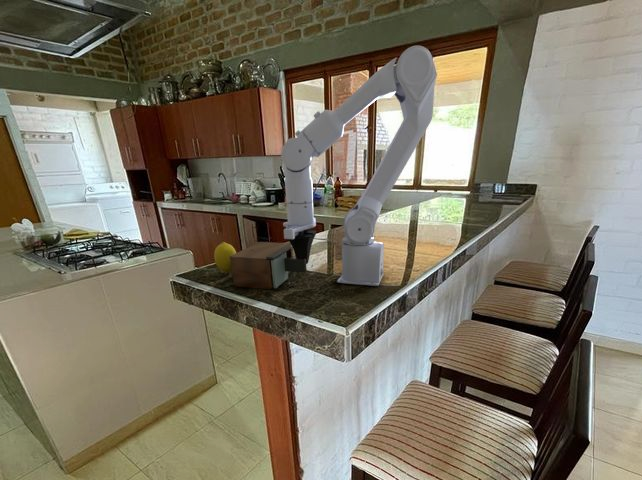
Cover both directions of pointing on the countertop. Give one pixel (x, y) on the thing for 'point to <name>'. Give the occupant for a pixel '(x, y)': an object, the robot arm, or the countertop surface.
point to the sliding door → (286, 268)
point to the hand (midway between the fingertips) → (303, 263)
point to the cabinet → (257, 264)
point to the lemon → (224, 256)
